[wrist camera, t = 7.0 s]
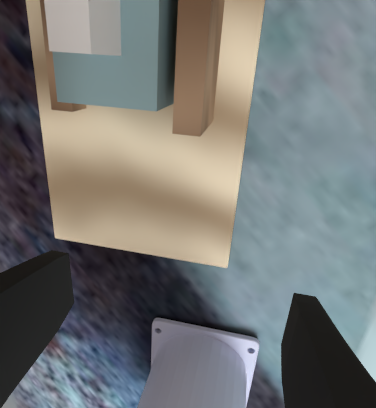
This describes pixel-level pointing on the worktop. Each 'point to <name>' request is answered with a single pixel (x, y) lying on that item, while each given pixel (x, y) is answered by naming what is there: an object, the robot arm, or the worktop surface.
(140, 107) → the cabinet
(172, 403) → the robot arm
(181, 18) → the cleat board
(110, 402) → the worktop surface
